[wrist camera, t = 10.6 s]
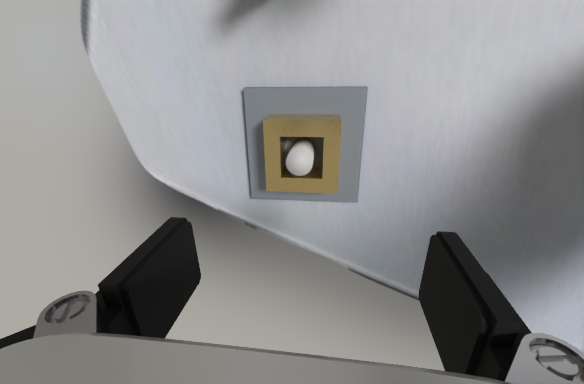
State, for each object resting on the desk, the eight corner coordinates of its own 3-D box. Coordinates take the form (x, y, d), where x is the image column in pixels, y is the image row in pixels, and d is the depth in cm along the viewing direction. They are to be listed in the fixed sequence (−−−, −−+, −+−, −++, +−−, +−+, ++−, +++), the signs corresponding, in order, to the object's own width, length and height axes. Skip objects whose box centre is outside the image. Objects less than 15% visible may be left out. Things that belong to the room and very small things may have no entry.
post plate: (366, 86, 27) (375, 91, 22) (356, 198, 32) (362, 225, 27) (245, 87, 29) (226, 91, 23) (253, 194, 33) (239, 219, 28)
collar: (340, 114, 28) (341, 120, 25) (336, 180, 31) (337, 193, 27) (269, 113, 28) (262, 119, 25) (272, 178, 31) (266, 191, 28)
